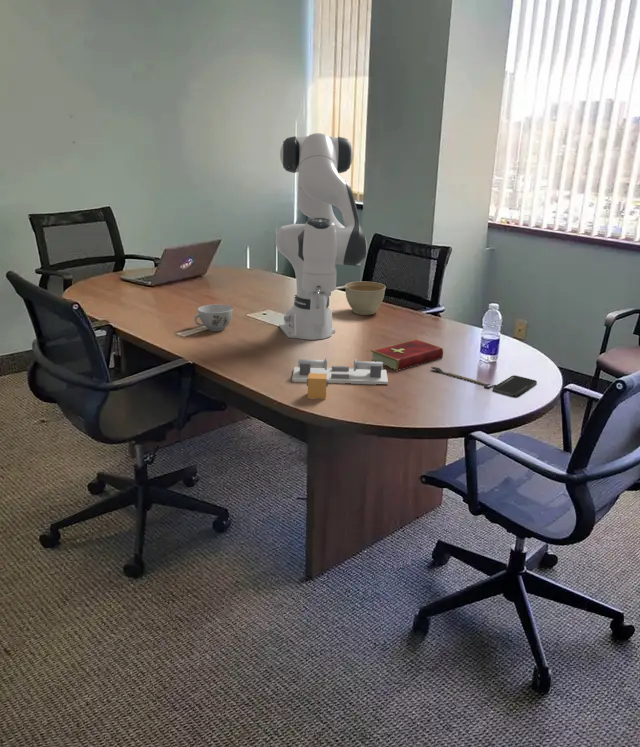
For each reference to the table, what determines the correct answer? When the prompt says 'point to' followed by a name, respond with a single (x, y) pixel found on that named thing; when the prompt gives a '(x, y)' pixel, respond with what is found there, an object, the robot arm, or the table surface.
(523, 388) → the phone
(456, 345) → the table surface
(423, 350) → the hardcover book
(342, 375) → the shaft rig
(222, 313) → the teacup
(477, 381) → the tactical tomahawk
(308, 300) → the robot arm
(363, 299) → the planter bowl
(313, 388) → the block
